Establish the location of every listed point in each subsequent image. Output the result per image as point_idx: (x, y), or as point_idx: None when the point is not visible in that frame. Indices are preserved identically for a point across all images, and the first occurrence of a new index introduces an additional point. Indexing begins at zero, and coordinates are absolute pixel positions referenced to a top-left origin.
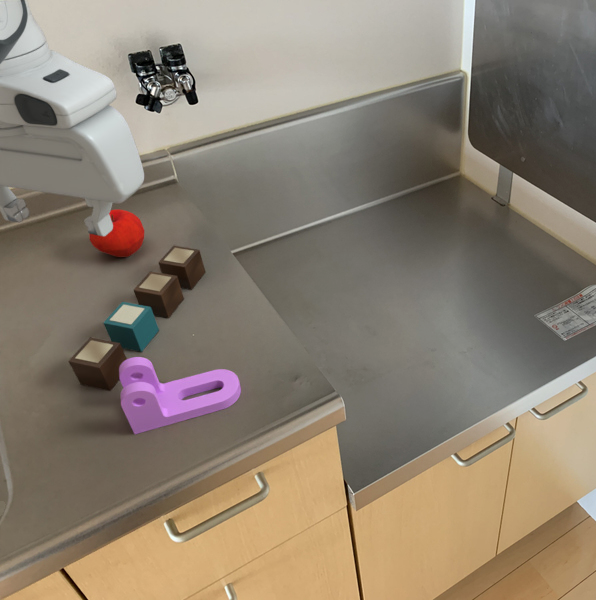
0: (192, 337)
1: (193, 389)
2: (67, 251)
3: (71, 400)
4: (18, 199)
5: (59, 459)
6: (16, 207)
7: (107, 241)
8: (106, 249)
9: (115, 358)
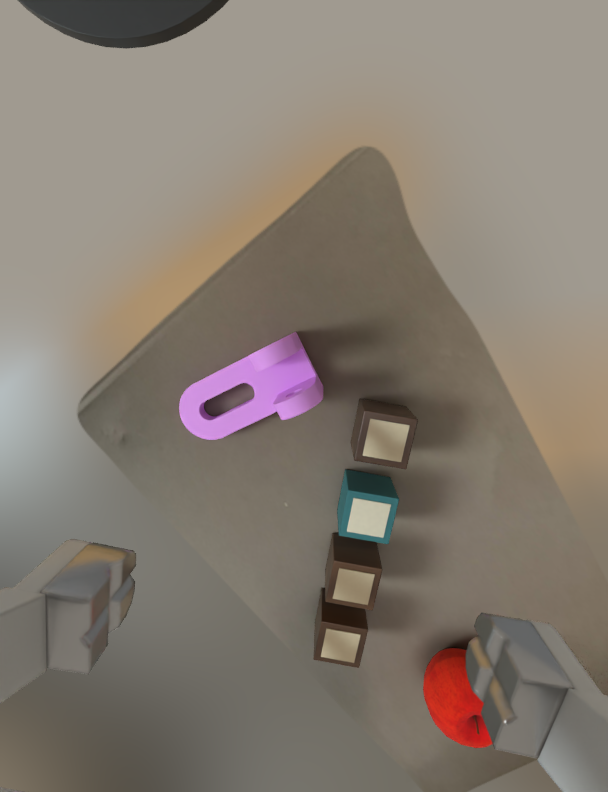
0: (285, 499)
1: (241, 405)
2: None
3: (406, 379)
4: (523, 749)
5: (377, 283)
6: (505, 691)
7: None
8: None
9: (356, 437)
